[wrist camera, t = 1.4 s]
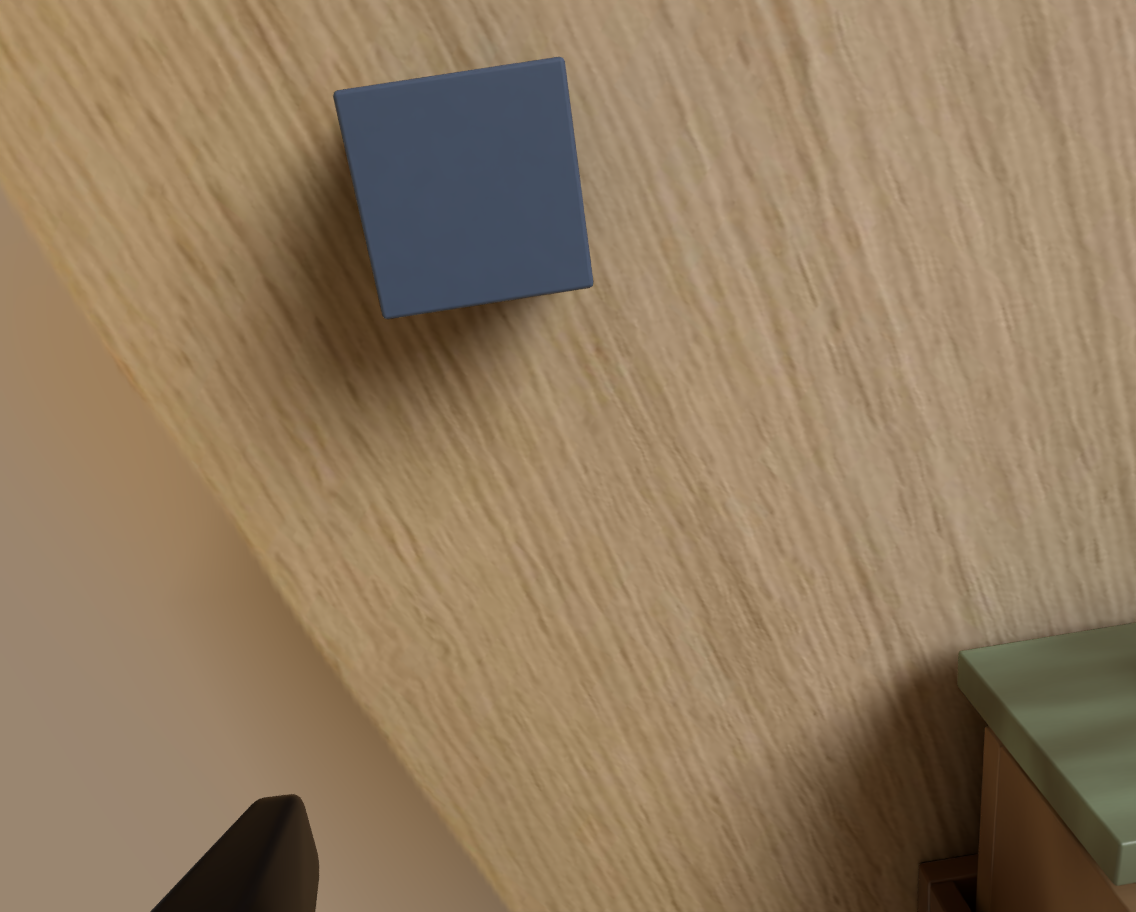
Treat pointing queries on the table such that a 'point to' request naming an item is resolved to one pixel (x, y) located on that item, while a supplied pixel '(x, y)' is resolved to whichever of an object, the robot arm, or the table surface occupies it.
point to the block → (467, 186)
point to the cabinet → (948, 885)
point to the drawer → (1057, 771)
